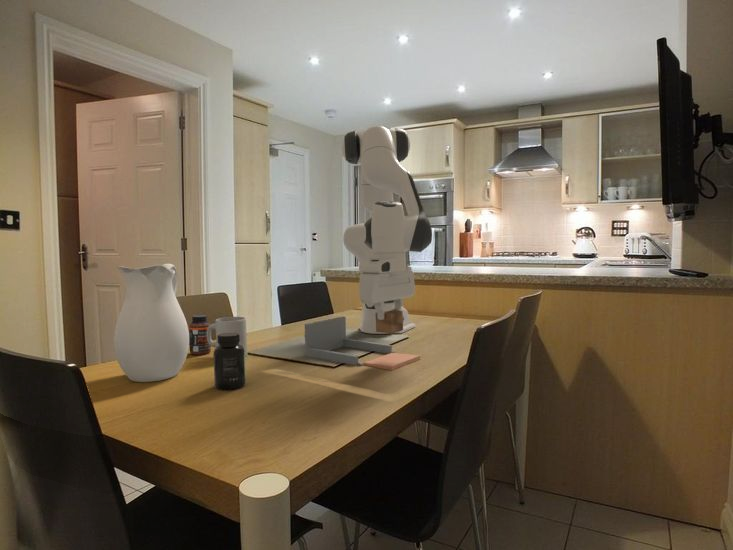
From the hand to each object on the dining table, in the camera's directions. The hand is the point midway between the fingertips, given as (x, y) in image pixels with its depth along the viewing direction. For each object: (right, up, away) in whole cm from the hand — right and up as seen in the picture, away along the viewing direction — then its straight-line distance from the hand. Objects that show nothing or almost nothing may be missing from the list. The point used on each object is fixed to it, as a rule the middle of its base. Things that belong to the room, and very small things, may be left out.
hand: (389, 317), depth 123 cm
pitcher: (-59, -14, -1) cm, 60 cm away
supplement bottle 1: (-55, -13, +19) cm, 60 cm away
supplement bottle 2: (-37, -15, -14) cm, 42 cm away
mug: (-46, -13, +14) cm, 50 cm away
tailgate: (-3, -11, +3) cm, 12 cm away
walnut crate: (0, -4, 0) cm, 4 cm away
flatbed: (-11, -12, +10) cm, 19 cm away
